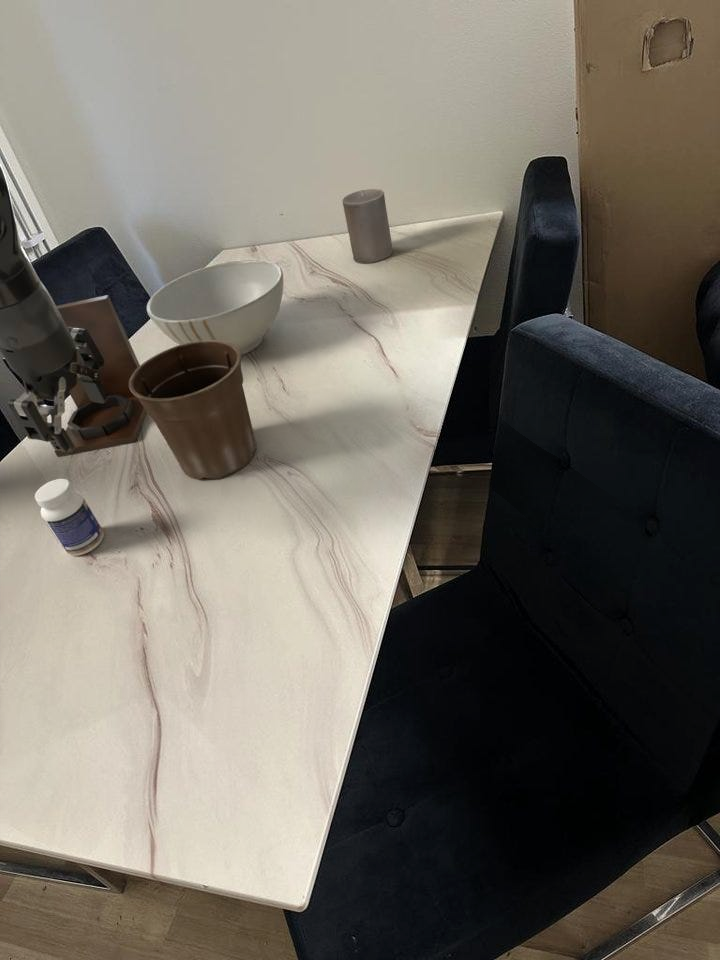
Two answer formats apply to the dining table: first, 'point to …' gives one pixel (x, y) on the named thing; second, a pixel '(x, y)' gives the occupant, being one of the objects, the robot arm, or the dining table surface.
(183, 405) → the plant pot
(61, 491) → the pill bottle
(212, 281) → the decorative bowl
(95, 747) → the dining table surface
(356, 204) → the pillar candle
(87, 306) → the stand
